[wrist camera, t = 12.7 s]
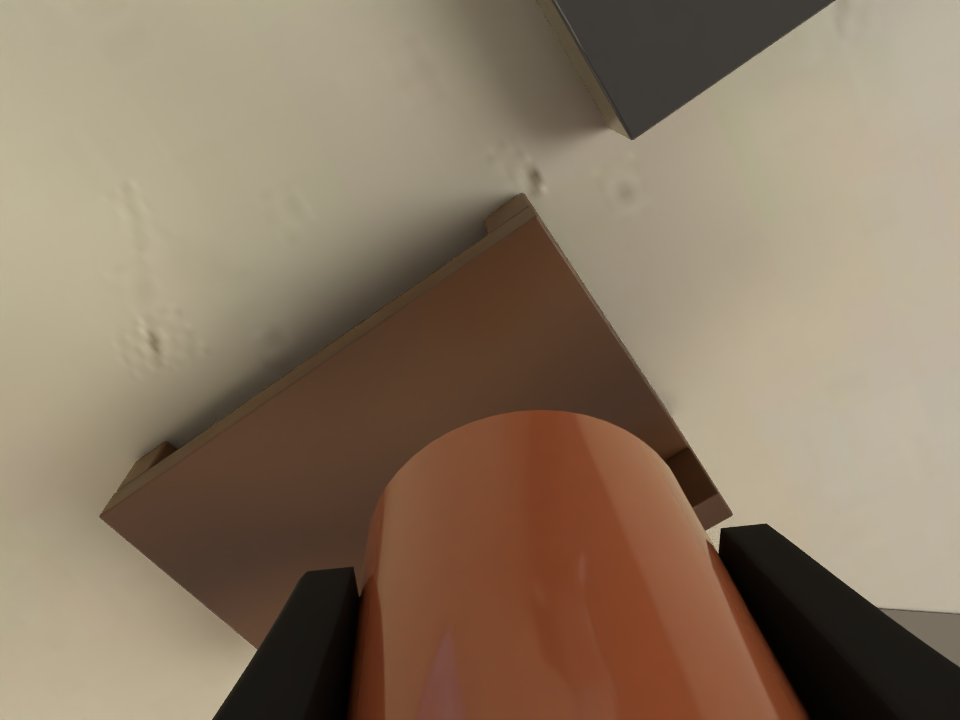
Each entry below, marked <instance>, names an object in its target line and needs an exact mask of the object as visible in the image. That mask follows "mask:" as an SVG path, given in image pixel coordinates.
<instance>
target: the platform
mask: <svg viewBox="0 0 960 720" xmlns="http://www.w3.org/2000/svg"><path fill="white" fill-rule="evenodd" d="M879 610H881V611H882V612H883V613H885V614H886V615H887V616H889V617H890V618H892V619H893V620H894V621H896V622H897V623H898V624H900V625H901V626H902V627H904V628H905V629H907V630H908V631H909V632H911V633H912V634H913V635H915V636H916V637H918V638H919V639H920V640H922V641H923V642H925V643H926V644H927V645H929V646H930V647H932V648H933V649H935V650H936V651H937V652H939V653H940V654H942V655H943V656H945V657H946V658H947V659H949V660H950V661H952V662H953V663H955V664H956V665H957V666H959V667H960V615H959V614H945V613H930V612H916V611H902V610H887V609H879Z"/></svg>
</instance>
